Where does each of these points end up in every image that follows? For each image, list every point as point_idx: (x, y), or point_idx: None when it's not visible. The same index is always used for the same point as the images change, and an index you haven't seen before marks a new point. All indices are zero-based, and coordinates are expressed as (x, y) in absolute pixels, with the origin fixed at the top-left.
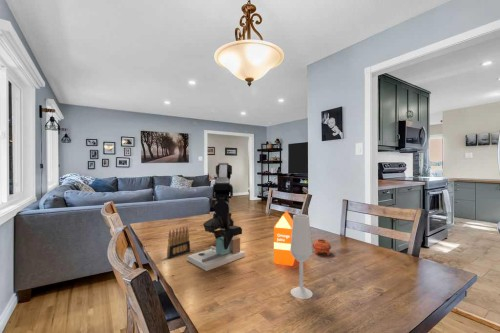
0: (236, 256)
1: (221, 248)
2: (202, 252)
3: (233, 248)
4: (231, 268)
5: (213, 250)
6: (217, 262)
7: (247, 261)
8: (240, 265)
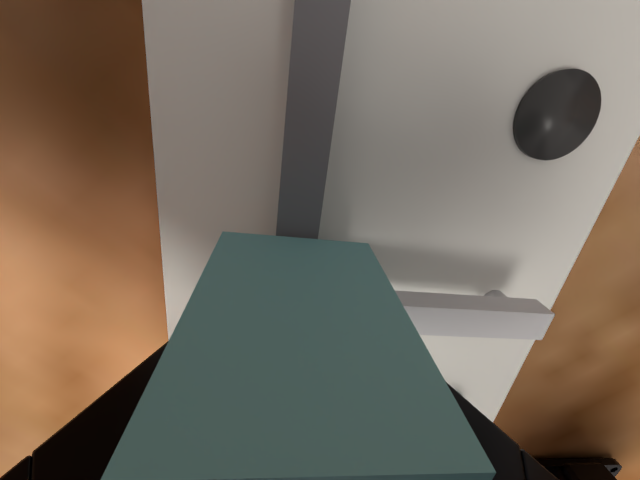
0: None
1: (208, 285)
2: (580, 180)
3: None
4: (14, 152)
5: None
6: (151, 64)
7: (78, 366)
8: (31, 270)
